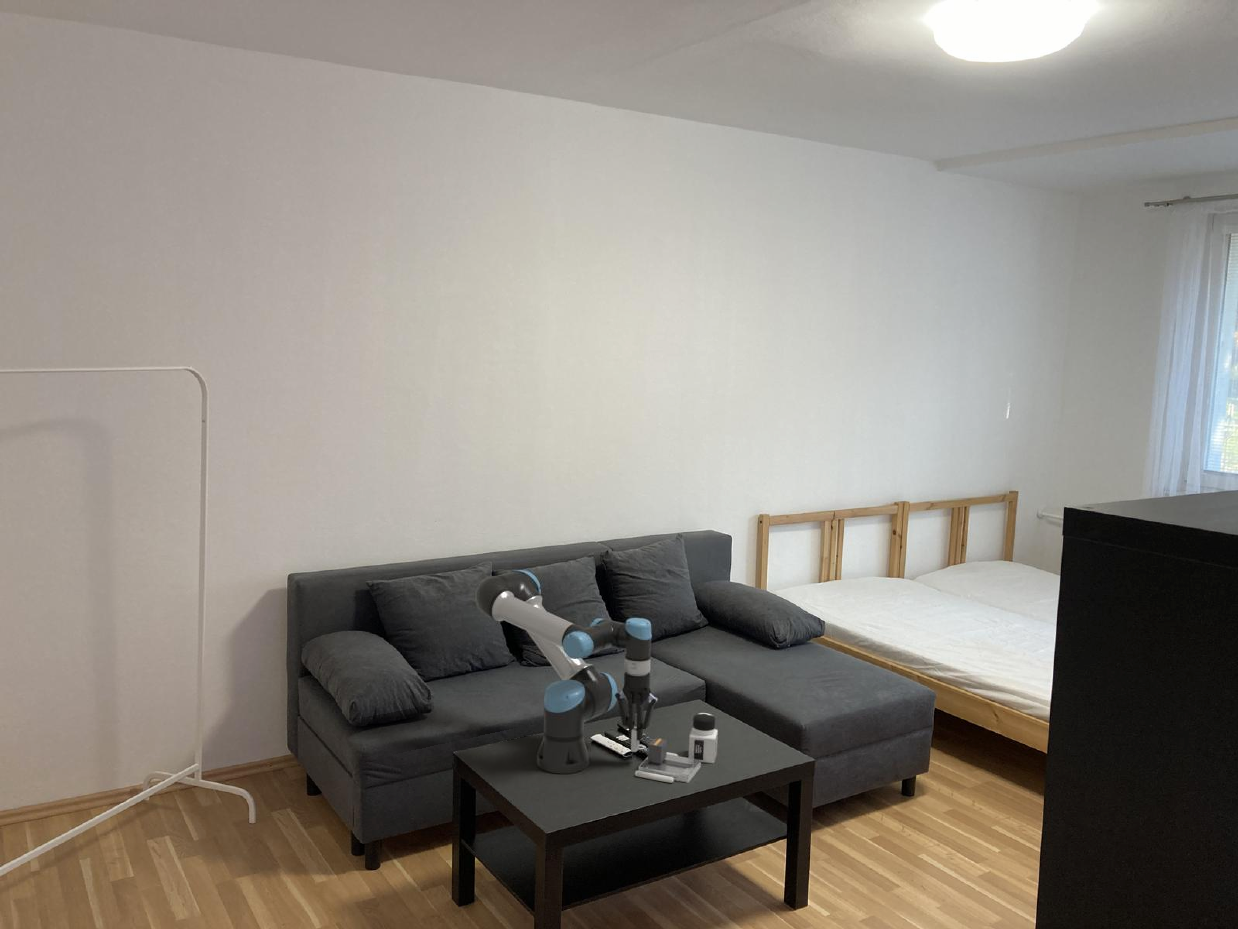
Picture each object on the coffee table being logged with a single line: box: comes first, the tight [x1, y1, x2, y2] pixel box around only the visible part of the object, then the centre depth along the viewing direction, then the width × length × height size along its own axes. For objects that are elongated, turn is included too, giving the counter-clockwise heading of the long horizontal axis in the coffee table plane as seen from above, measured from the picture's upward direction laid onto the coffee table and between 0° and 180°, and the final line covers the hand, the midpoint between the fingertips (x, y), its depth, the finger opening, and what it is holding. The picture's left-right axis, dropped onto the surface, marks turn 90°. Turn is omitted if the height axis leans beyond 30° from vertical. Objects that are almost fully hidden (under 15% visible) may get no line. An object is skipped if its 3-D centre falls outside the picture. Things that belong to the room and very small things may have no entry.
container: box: [688, 712, 719, 764], centre depth 298 cm, size 8×8×13 cm
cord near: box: [634, 770, 675, 784], centre depth 282 cm, size 12×2×2 cm, turn 68°
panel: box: [638, 754, 702, 783], centre depth 289 cm, size 15×12×2 cm
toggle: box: [647, 738, 668, 763], centre depth 290 cm, size 4×5×5 cm
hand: (635, 750), depth 293 cm, fingers closed
